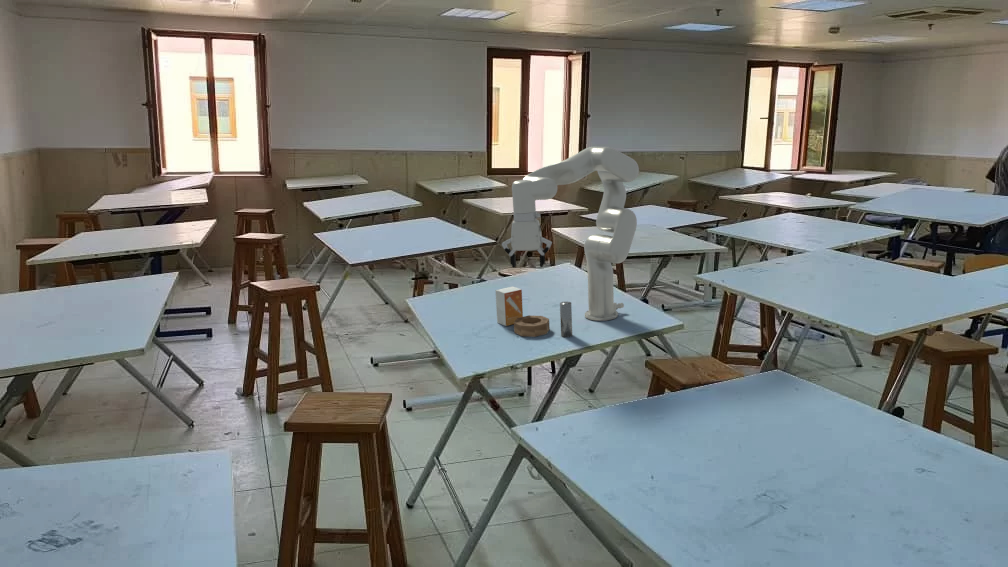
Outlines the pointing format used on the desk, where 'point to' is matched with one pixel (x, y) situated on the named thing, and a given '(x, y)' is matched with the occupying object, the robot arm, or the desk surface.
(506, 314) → the small box
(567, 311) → the peg
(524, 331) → the brown octagonal ring
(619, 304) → the robot arm
